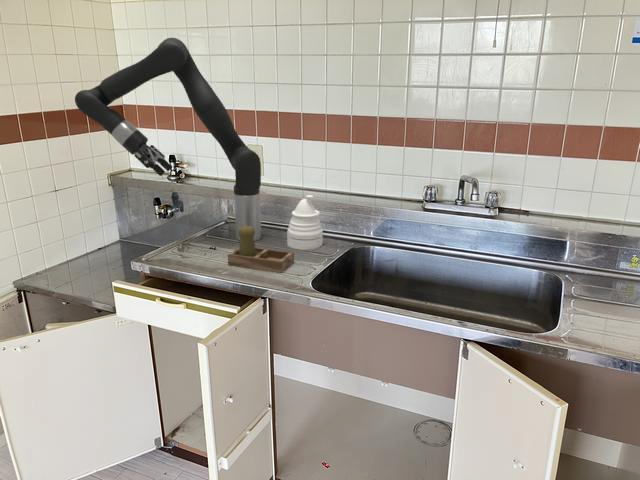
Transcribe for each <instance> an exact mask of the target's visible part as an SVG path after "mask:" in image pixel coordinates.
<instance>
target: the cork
mask: <svg viewBox="0 0 640 480" xmlns="http://www.w3.org/2000/svg"><path fill="white" fill-rule="evenodd" d="M238 234H239V236H240V241H239V245H238V248H239V255H243V256H250V257H255V256H256V250H255V247H256V246H255V241H254V239H253V236H254V234H255V230H254V228H253V227H251V226H242V227H240V228H239V230H238Z"/></svg>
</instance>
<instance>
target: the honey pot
mask: <svg viewBox="0 0 640 480" xmlns="http://www.w3.org/2000/svg"><path fill="white" fill-rule="evenodd" d="M313 199H314V195H312V194H311V195H309V194H308V195H305V198H302V199H301V200H299V202H298V204H297V205H296V206H295V208H294V209H293V211H292V212H291V215H292V216H291V219H290V221H289V224H288V228H287V233H286V234H287V235H286V236H287V237H286V239H287V242H286V244H287V247H290V248H291V249H295V250H301V251H302V250H303V251H305V250H306V251H307V250H314V249H319V248H321V247H322V246H323V245H322V244H324V237H323V236H324V235H323V234H324V233H323V232H324V231H323V227H322V224H321V222H320V221H321V220H320V219H319V216H320V214H321V213H320V211H319V210H317V209H316V208H315V207H314V205H313V204H312V201H313ZM320 246H321V247H320ZM318 247H319V248H318Z"/></svg>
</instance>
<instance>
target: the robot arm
mask: <svg viewBox="0 0 640 480" xmlns="http://www.w3.org/2000/svg"><path fill="white" fill-rule="evenodd" d="M172 72H173V74H174V75H175V76H176V78H177V79H178V80H179V82H180V83H181V85H182V87H183V88H184V90H185V93H186V96H187V98H188V100H189V102H190V105H191V107H192V109H193V111H194V113H195V114H196V116H197V117H198V118H199V120H200V121H201V123H202V124H203V125H204V127H205V128H206V130H207V131H209V133H210V134H211V135H212V137H213V138H214V140H216V142H218V144H219V146H220V147H221V148H222V150H223V152H224V154H225V156H226V157H227V159H228V162H229V163H230V165H231V167H232V168H233V169H234V171H235V174H234V175H235V176H234V177H235V183H234V185H233V198H234V199H233V201H234V222H235V224H234V225H235V239H236V240H237V241H239V242H240V236H239V234H238V230H239V228H240V227H242V226H251V227H253V228H254V230H255V234H254V236H253V239H254V242H255V241H258V240H260V239H261V238H262V223H261V222H262V216H261V201H260V200H261V199H260V198H261V197H260V195H261V194H260V188H261V184H262V183H261V182H262V168H261V167H262V165H261V158H260V156H259V155H258V153H257V152H256V151H254V150H252V149H250V148H249V147H248V146H247V145H246V143H245V142H244V141H243V139H242V138H241V137H240V136H239V134H238V133H237V131H236V129H235V126H234V124H233V121H232V119H231V116H230V115H229V112H228V110H227V109H226V107H225V106H224V104H223V102H222V101H221V100H220V98H219V97H218V95H217V94H216V91H214V89H213V88H212V86H211V85H210V84H209V82H208V81H207V80H206V79H205V77H204V75H203V74H202V73H201V72H200V70H199V68H198V66H197V64H196V63H195V61H194V58H193V57H192V55H191V53H190V51H189V48H188V47H187V45H186V44H185V43H184V42H183V41H182V40H180V39H178V38H177V37H168V38H165V39H164V40H163V41H161V42H160V43H159V45H158V46H157V47H156V48H155V49H154V50H153V51H151V52H150V54H148V55H147V56H146V57H144V58H142V59H141V60H140V61H137V62H136V63H134V64H131V65H130V66H127V67H125V68H121V69H120V70H118V71H116V72H115V73H113V74H111V75H109V76H108V77H106V78H104V79H103V80H102V81H101V82H100V84H99V85H97V86H94V87H93V88H91V89H84V90H80V91H78V92H77V93H76V94H75V97H74V102H75V105H76V107H77V108H78V109H79V111H80V112H81V113H82V114H84V115H85V116H86V117H87V118H89V119H91V120H92V121H93V122H96V123H97V124H99V125H100V126H101V127H102V128H103V129H105V130H106V132H107V133H109V134H110V135H111V136H112V137H113V139H115V141H116V142H118V144H120V145H121V147H123V148H124V149H125V150H126V151H127V152H128V153H130V155H134V158H135V159H137V161H139V162H140V163H141V164H142V165H143V166H144V167H145V168H146V169H151V170H153V171H154V172H155V173H156V174H157V175H158V176H159V177H162V176H163V175H164V174H165V172H170V171H171V170H172V168H173V166H172V164H170V163H169V162H168V161H167V160H166V157H165V154H163V153H162V152H161V151H160V150H159V149H158V148H157V147H155V146H154V145H152V144H151V145H150V146H149V145H148V144H147V143H148V141H149V139H148V137H147V136H145V135H144V134H143V133H142V132H141V131H140V129H138V128H137V127H136V126H134V124H132V123H131V122H130V121H128V120H127V119H126V117H124V116H123V115H122V114H121V113H120V112H118V111H117V110H115V109H113V108H110V107H108V106H109V105H110V104H112V103H113V102H114V101H116V100H118V99H120V98H122V97H124V96H126V95H127V94H129V93H130V92H131V93H132V91H134V90H136V89H137V88H139V87H141V86H143V85H144V84H145V83H147V82H149V81H151V80H154V79H155V78H157V77H159V76H162V75H166V74H169V73H172ZM165 170H166V171H165Z"/></svg>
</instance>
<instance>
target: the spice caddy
mask: <svg viewBox="0 0 640 480" xmlns="http://www.w3.org/2000/svg"><path fill="white" fill-rule="evenodd" d="M255 250H256V256H255V257H250V256H243V255H239V247H237V248H236V249H234V250H233V251H231V252H229V253H228V254H227V265H228V266H234V267H240V268H245V269H252V270H253V269H254V270H260V271H266V272H273V273H279V274H282V273H283V272H285V271H286V270H287V269H288V268H289V267H291V265H293V264H294V263H295V252H294V251H287V250H280V249H271V248H265V247H258V246H255Z"/></svg>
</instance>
